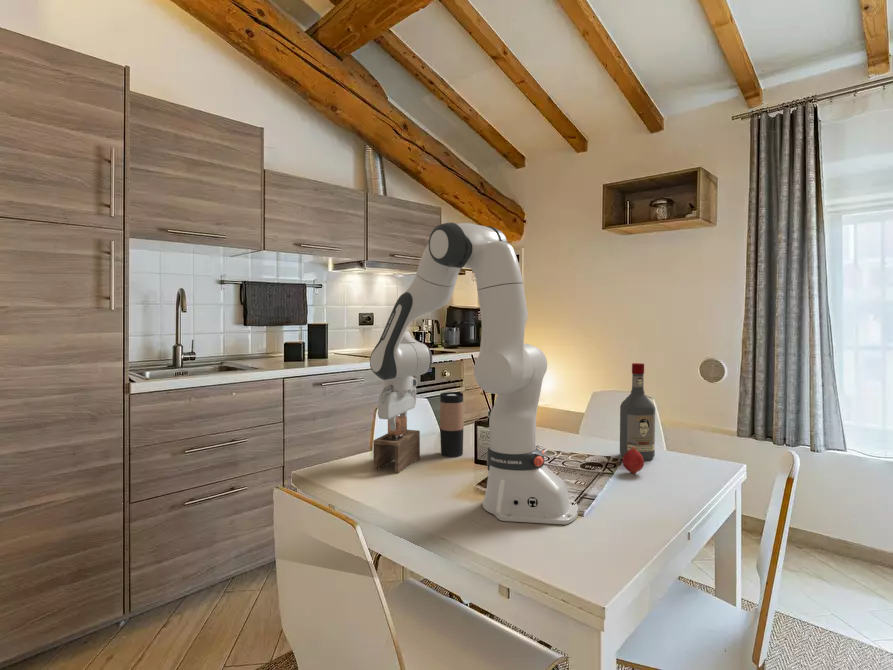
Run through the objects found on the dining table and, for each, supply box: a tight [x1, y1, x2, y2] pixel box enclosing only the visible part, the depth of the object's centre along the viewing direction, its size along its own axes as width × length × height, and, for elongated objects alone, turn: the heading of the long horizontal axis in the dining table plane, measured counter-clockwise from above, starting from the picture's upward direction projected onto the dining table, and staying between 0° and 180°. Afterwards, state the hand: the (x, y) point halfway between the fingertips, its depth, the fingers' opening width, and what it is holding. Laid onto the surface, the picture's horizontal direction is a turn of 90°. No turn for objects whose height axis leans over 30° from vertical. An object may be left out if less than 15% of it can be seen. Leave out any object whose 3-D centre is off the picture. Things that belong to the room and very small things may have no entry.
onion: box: [621, 447, 645, 475], centre depth 150 cm, size 6×6×8 cm
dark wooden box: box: [372, 429, 421, 474], centre depth 160 cm, size 8×16×9 cm, turn 160°
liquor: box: [619, 362, 656, 461], centre depth 167 cm, size 9×9×30 cm
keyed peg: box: [387, 415, 408, 441], centre depth 160 cm, size 4×4×8 cm
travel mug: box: [439, 391, 464, 458], centre depth 171 cm, size 8×8×20 cm
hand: (397, 428), depth 160 cm, fingers closed on keyed peg, 4 cm apart
